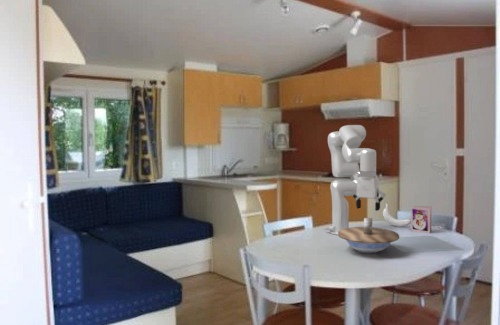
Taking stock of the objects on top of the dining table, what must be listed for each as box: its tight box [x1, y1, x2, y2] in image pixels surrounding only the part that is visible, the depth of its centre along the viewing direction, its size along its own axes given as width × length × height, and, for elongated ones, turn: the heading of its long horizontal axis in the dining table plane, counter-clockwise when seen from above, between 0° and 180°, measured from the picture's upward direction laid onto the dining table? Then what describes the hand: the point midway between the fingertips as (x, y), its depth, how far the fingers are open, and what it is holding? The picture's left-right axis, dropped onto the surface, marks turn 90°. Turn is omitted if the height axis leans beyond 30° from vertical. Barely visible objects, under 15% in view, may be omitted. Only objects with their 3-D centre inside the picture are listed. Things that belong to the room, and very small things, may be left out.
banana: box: [382, 202, 411, 228], centre depth 270 cm, size 5×19×15 cm, turn 45°
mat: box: [389, 235, 465, 253], centre depth 225 cm, size 31×31×1 cm
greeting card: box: [410, 205, 433, 234], centre depth 254 cm, size 11×7×15 cm, turn 42°
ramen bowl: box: [345, 240, 391, 254], centre depth 212 cm, size 25×23×8 cm
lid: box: [337, 217, 400, 244], centre depth 212 cm, size 29×29×8 cm
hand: (367, 209), depth 212 cm, fingers open, 9 cm apart
